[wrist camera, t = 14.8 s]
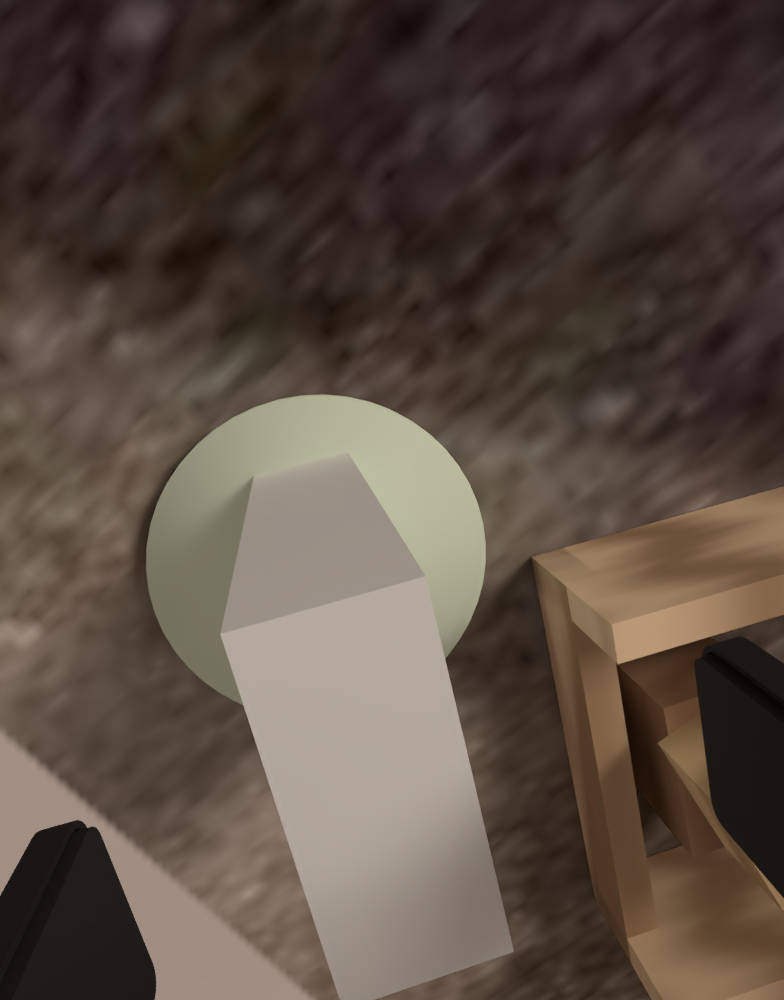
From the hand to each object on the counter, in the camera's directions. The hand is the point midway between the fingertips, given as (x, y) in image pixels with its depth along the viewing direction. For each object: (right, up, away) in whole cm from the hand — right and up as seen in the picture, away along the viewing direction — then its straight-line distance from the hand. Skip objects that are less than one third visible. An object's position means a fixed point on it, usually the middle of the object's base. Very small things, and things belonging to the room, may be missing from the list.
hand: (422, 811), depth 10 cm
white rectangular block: (-2, +3, +12) cm, 12 cm away
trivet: (-3, +3, +12) cm, 13 cm away
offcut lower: (+10, -3, +16) cm, 19 cm away
